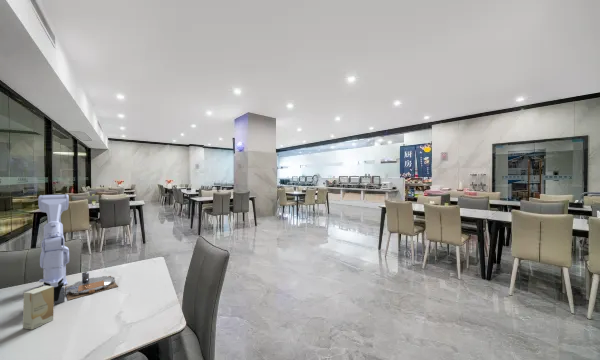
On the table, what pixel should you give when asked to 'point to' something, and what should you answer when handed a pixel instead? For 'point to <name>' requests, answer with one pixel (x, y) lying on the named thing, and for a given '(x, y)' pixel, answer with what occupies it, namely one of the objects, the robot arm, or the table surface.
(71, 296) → the walnut board
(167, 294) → the table surface
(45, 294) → the skincare box
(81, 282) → the sprocket
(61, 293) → the gray cube
